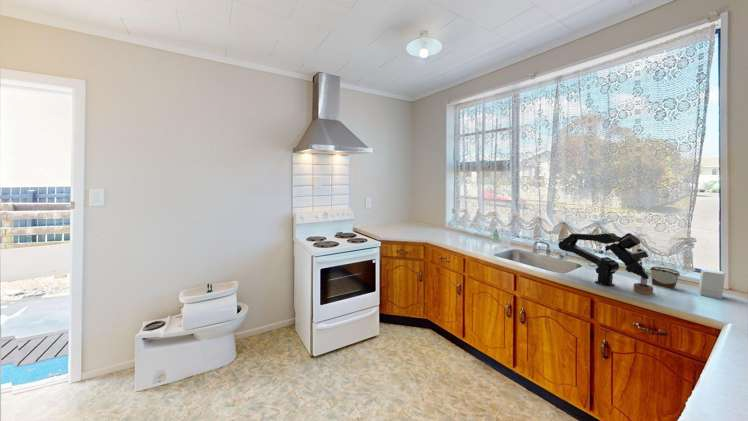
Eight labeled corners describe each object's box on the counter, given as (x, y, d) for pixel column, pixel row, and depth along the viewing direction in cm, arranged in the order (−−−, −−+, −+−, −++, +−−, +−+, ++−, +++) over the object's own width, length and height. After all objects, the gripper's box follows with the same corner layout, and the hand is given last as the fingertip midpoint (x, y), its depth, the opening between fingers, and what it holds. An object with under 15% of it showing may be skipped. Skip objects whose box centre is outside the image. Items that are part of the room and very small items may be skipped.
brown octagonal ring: (644, 294, 148) (645, 288, 148) (630, 289, 155) (630, 283, 154) (655, 294, 149) (656, 287, 149) (641, 289, 156) (641, 282, 156)
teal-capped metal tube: (643, 292, 151) (645, 272, 150) (638, 291, 153) (640, 270, 152) (647, 292, 151) (649, 272, 150) (642, 291, 153) (644, 270, 152)
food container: (683, 289, 156) (685, 271, 155) (677, 291, 154) (679, 272, 153) (654, 282, 167) (656, 265, 167) (648, 283, 165) (650, 266, 164)
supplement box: (722, 299, 143) (725, 274, 142) (700, 295, 148) (702, 271, 147) (719, 295, 148) (722, 271, 147) (698, 291, 154) (700, 268, 152)
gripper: (636, 247, 146) (665, 273, 139) (637, 241, 159) (663, 265, 153) (615, 259, 152) (641, 285, 145) (617, 253, 165) (641, 276, 159)
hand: (647, 277), depth 150 cm, fingers open, 4 cm apart
